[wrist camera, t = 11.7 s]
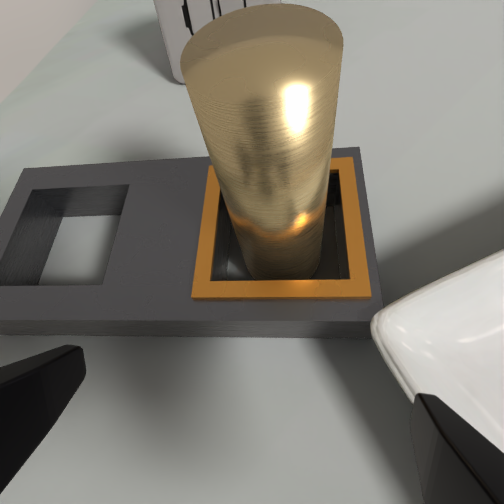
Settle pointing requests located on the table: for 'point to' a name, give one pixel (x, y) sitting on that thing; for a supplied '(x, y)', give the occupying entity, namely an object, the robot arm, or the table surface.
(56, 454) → the table surface
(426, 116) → the table surface
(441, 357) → the square plate
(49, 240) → the grey peg board
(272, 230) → the brass pin
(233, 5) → the electrical switch
